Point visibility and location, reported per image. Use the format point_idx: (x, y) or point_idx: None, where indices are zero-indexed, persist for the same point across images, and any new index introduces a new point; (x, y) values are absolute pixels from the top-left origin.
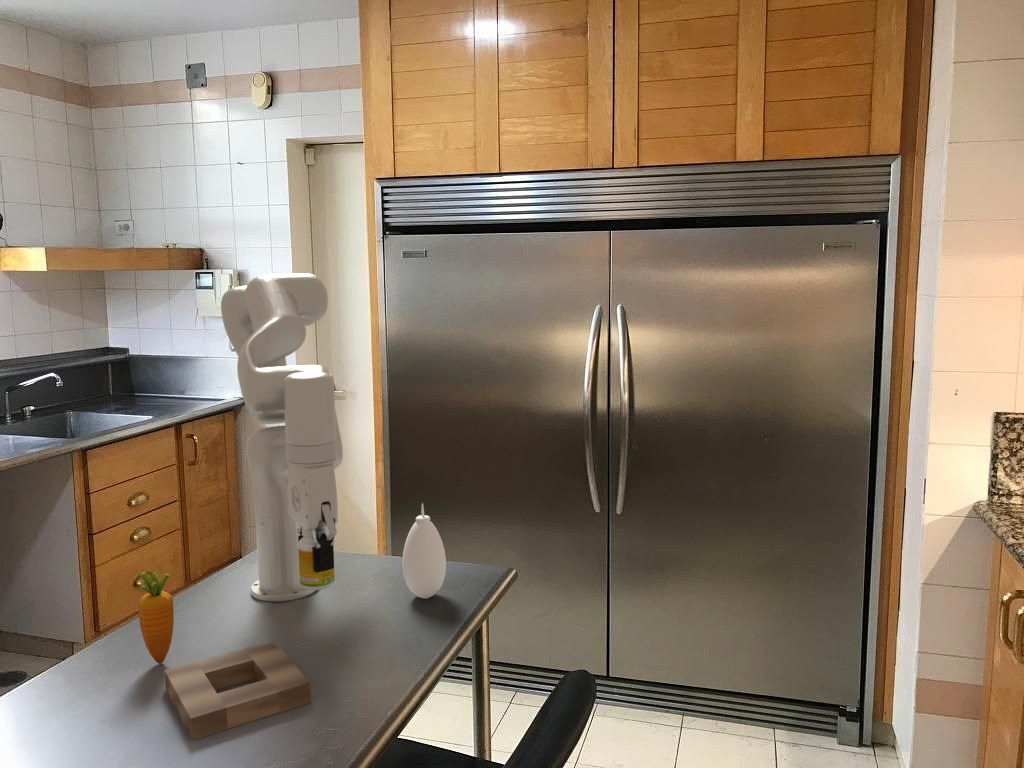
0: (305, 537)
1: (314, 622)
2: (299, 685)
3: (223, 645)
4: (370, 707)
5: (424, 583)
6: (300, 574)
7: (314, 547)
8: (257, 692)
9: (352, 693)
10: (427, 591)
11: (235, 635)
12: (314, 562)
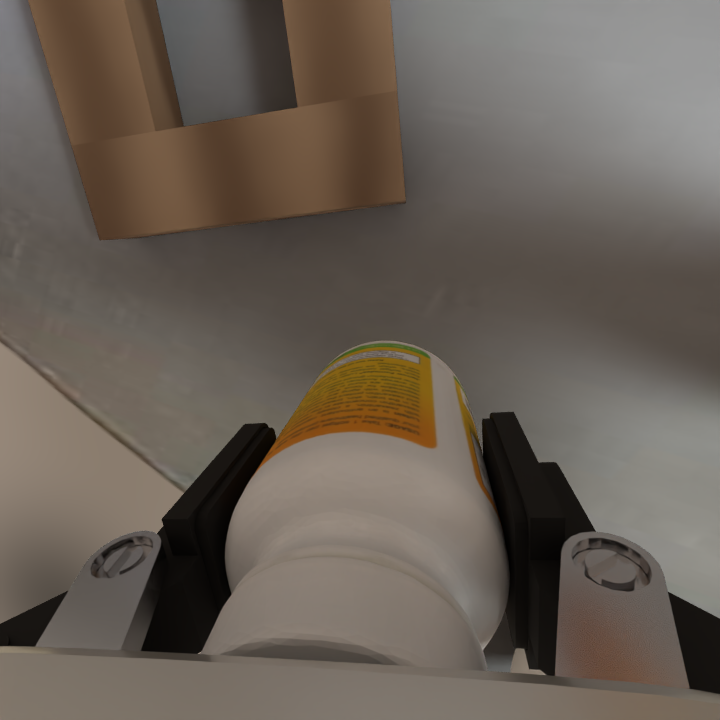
0: (305, 551)
1: (582, 365)
2: (91, 209)
3: (604, 57)
4: (78, 347)
5: (516, 669)
6: (368, 359)
7: (179, 530)
8: (82, 83)
9: (146, 333)
10: (515, 650)
11: (659, 112)
12: (219, 454)
